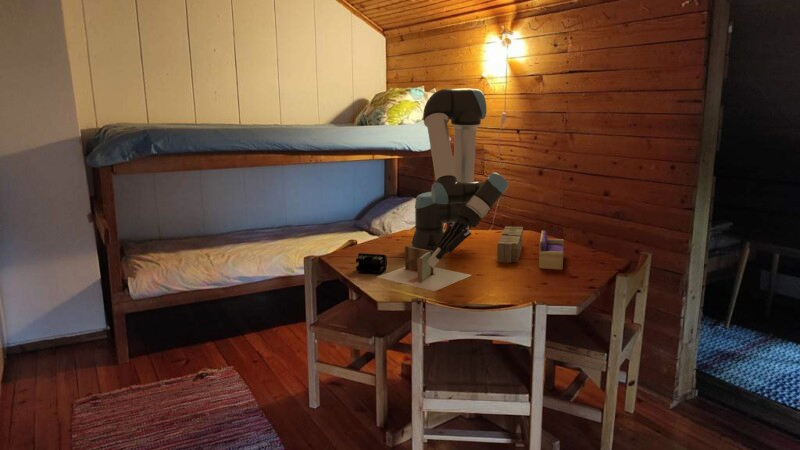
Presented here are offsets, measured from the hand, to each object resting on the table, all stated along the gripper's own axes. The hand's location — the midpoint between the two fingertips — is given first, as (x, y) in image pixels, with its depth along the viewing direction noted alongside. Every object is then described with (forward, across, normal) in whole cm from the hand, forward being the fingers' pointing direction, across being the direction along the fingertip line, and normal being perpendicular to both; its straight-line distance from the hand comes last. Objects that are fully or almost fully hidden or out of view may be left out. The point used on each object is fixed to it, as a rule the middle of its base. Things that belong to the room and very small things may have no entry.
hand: (429, 264), depth 192 cm
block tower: (-27, +21, -36) cm, 50 cm away
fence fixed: (+4, +10, -4) cm, 11 cm away
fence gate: (+5, +1, -2) cm, 5 cm away
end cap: (+15, +17, +7) cm, 24 cm away
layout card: (+4, +5, -4) cm, 7 cm away
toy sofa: (-32, +4, -42) cm, 53 cm away
